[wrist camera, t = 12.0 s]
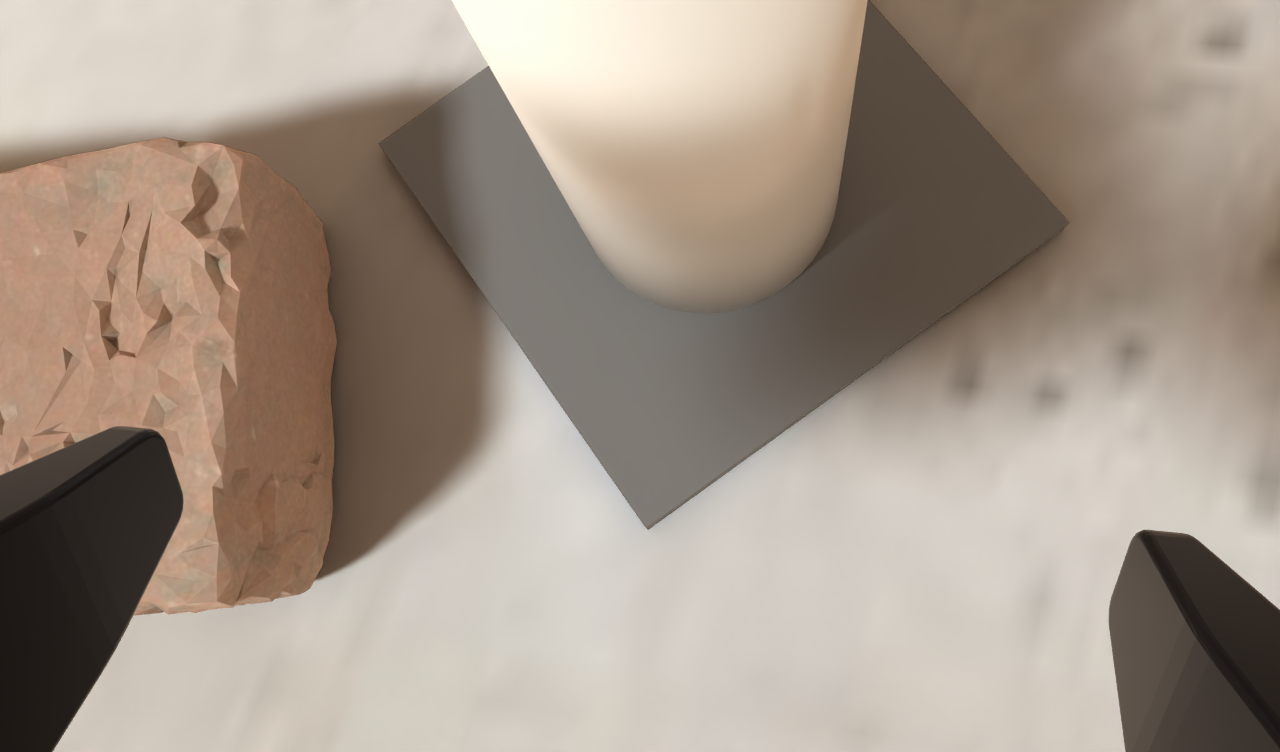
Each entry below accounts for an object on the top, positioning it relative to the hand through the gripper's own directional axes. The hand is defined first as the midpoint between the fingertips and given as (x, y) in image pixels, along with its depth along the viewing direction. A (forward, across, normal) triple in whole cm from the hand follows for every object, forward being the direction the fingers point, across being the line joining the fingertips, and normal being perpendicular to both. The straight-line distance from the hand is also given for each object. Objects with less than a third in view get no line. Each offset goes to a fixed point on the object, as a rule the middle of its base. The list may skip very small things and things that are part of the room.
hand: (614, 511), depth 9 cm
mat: (+12, 0, +2) cm, 13 cm away
